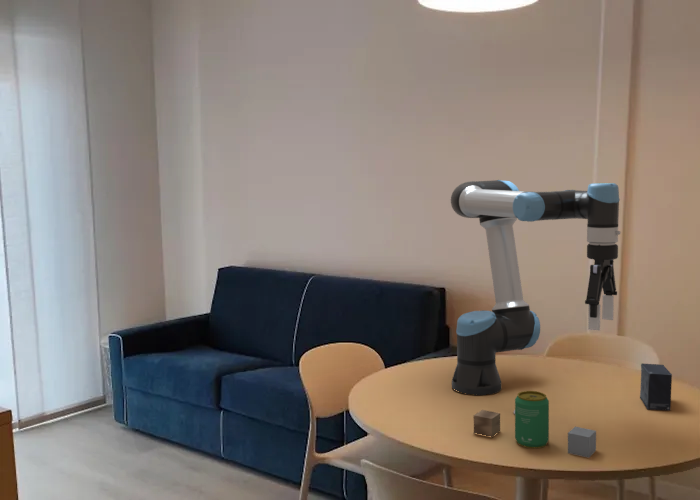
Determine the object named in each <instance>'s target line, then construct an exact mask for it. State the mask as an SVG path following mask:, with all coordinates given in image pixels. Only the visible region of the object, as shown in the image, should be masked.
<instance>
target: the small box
mask: <svg viewBox="0 0 700 500" xmlns="http://www.w3.org/2000/svg"><path fill="white" fill-rule="evenodd" d="M672 380H673V374H672V373H671V372H670V371H669V370H668V368H667V367H666V366H665V365H664V364H654V363H640V390H639V391H640V393H639V399H640V401H641V402H642V404H643V406H644V407H645V409H646V410H648V411H649V410H653V411H654V410H655V411H668V412H669V411H671V407H672V406H671V403H672V385H673V384H672V382H673V381H672Z"/></svg>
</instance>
